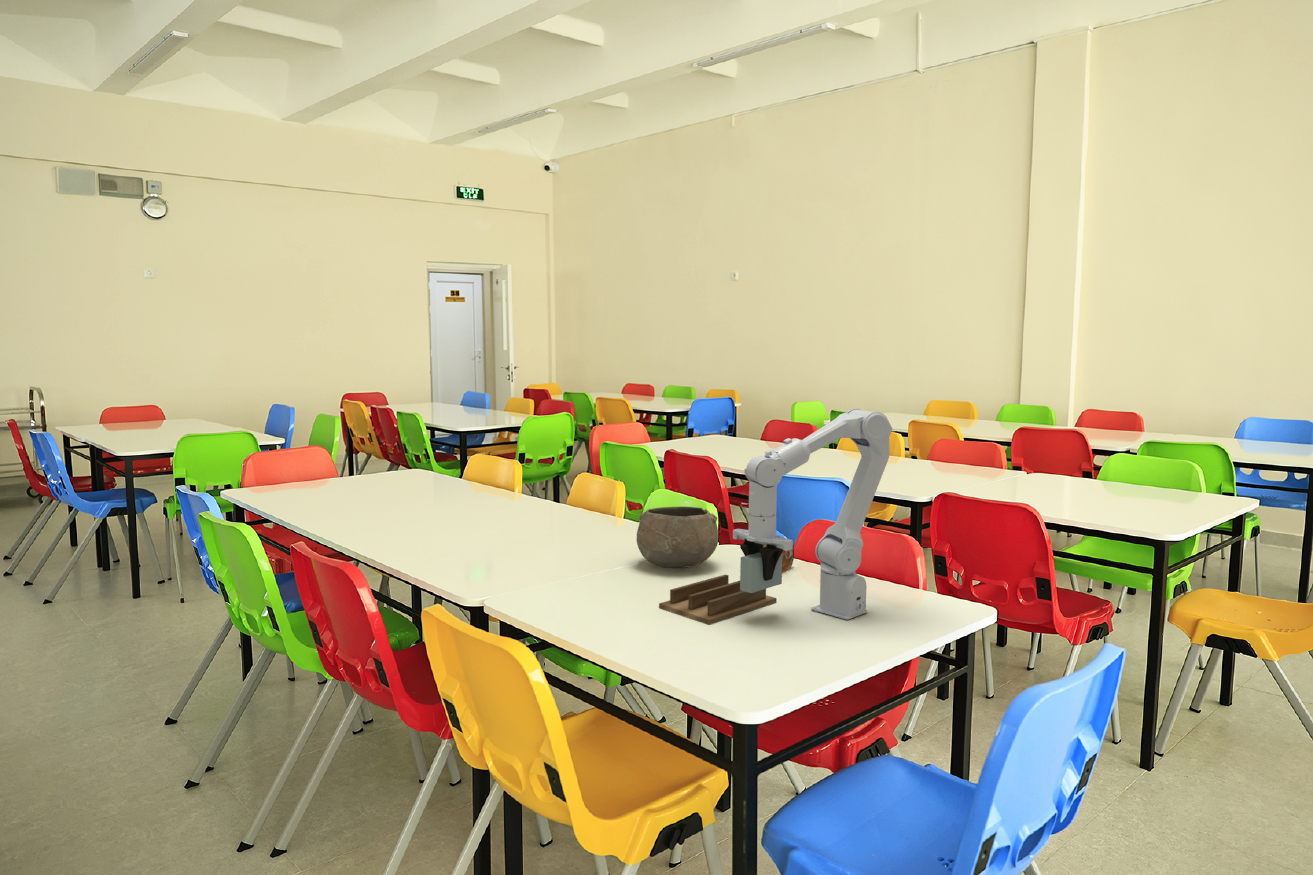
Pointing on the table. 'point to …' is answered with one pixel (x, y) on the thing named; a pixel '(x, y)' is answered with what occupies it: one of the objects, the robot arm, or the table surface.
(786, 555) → the tin
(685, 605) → the rack
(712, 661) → the table surface
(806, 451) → the robot arm
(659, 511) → the clay pot
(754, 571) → the grey stone cuboid
